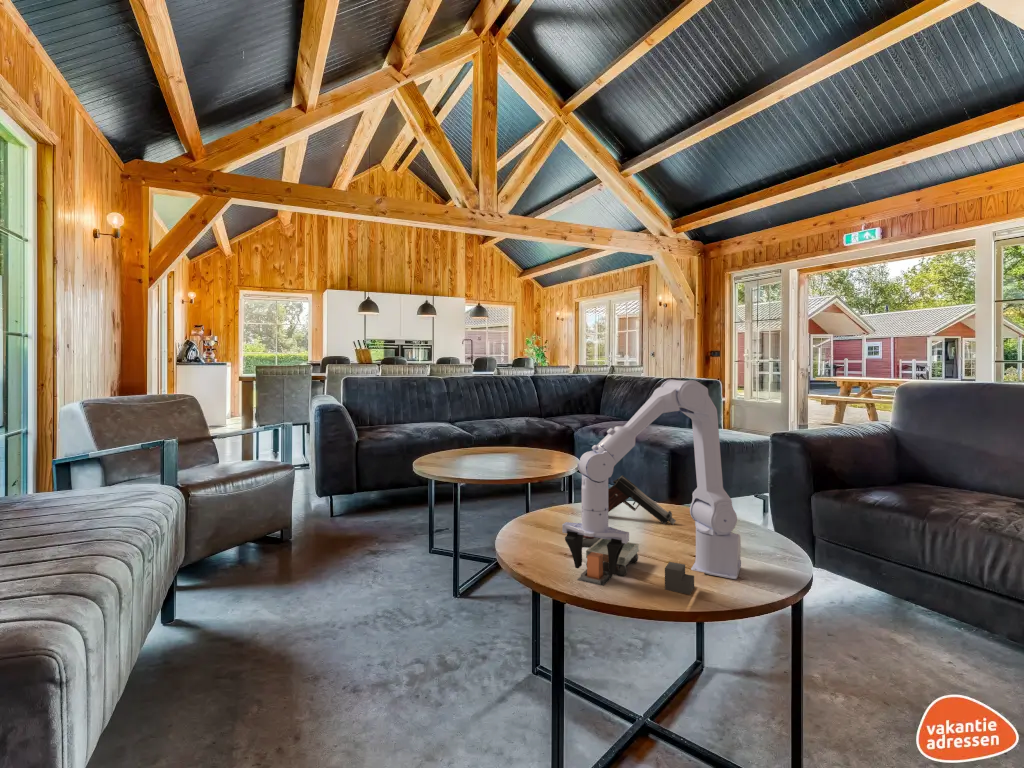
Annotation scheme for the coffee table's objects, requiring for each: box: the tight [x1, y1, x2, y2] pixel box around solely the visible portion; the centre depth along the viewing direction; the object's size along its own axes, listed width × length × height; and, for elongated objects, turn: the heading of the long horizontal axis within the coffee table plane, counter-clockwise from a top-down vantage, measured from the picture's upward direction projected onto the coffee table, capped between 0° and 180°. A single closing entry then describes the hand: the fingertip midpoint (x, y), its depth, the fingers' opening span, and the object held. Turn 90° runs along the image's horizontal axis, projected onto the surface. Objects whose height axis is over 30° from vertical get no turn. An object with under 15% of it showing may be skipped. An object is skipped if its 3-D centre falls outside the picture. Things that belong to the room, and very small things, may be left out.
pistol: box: [582, 535, 601, 548], centre depth 135 cm, size 2×15×12 cm
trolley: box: [585, 538, 640, 577], centre depth 118 cm, size 9×10×5 cm
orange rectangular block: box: [586, 552, 604, 579], centre depth 111 cm, size 3×3×5 cm
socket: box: [576, 568, 614, 587], centre depth 111 cm, size 6×6×1 cm
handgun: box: [608, 475, 677, 525], centre depth 154 cm, size 3×23×15 cm
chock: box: [664, 561, 695, 596], centre depth 105 cm, size 5×4×5 cm
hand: (594, 570), depth 111 cm, fingers open, 7 cm apart
